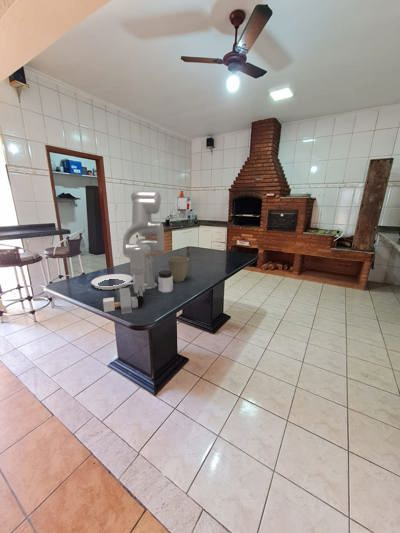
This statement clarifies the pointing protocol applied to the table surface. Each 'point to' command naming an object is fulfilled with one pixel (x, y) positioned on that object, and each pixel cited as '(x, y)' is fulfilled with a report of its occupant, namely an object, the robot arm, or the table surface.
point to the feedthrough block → (125, 300)
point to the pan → (113, 276)
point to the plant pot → (178, 267)
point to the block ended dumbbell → (117, 303)
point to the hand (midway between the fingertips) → (140, 302)
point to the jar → (165, 281)
